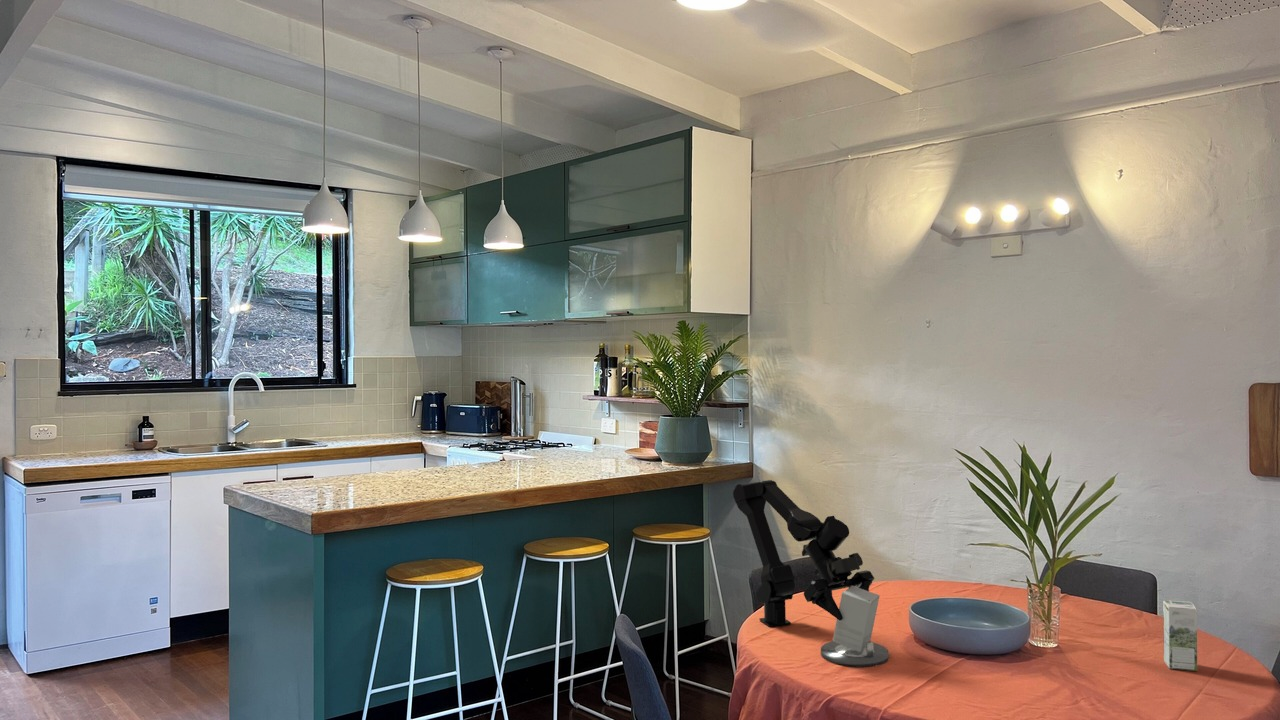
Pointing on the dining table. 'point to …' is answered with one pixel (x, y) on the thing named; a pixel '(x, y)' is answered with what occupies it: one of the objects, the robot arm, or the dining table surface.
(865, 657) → the base plate
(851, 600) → the supplement box
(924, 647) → the dining table surface
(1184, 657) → the syrup box
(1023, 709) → the dining table surface
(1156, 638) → the dining table surface
